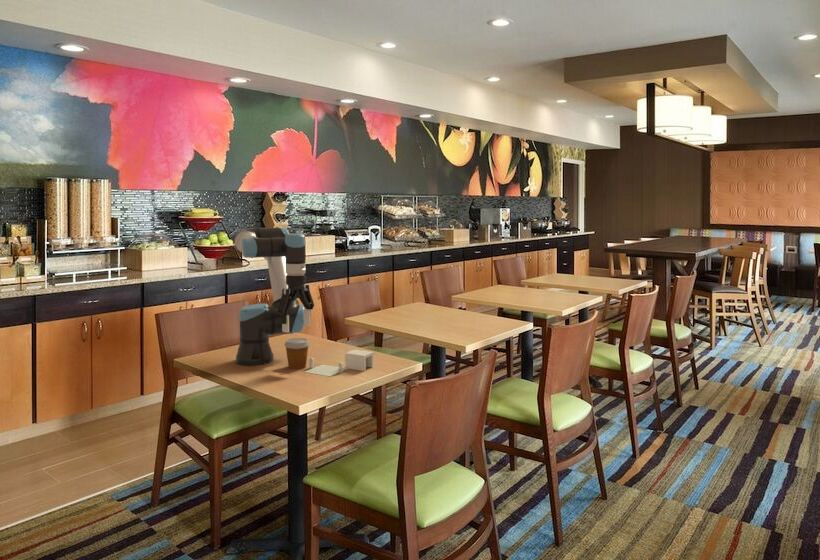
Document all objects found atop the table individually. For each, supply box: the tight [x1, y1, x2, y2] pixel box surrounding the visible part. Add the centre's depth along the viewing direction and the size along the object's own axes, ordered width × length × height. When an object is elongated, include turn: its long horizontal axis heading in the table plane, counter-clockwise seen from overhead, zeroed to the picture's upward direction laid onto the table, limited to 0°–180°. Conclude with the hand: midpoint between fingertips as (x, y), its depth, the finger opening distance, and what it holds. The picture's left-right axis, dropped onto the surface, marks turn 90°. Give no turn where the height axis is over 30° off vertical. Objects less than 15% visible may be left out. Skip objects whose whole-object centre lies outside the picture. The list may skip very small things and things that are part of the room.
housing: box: [344, 349, 374, 372], centre depth 246 cm, size 9×7×6 cm
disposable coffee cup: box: [284, 337, 310, 370], centre depth 246 cm, size 10×10×12 cm
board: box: [304, 357, 349, 377], centre depth 244 cm, size 21×19×5 cm
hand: (296, 328), depth 244 cm, fingers open, 13 cm apart
